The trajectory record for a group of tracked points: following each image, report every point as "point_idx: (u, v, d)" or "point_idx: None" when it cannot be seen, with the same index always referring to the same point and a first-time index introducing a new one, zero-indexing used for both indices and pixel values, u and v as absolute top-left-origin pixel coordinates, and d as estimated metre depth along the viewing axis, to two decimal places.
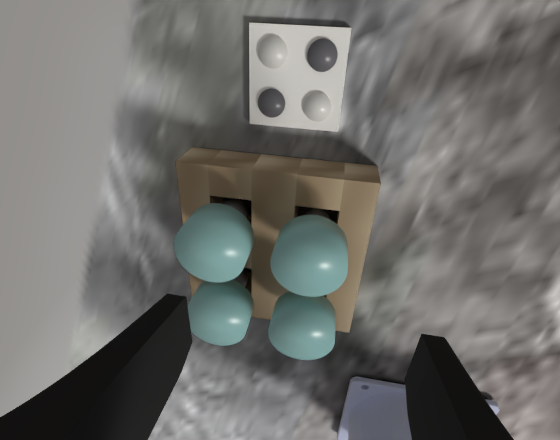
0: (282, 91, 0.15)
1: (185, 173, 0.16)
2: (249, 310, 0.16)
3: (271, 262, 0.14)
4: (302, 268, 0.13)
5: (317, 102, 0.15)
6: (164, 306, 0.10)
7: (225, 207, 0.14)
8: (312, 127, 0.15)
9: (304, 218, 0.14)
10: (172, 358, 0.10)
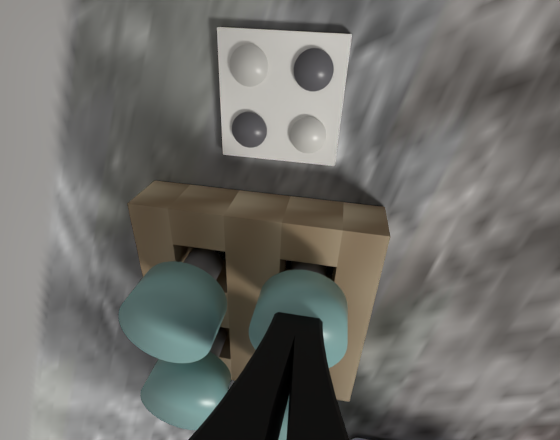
0: (262, 115, 0.11)
1: (141, 217, 0.12)
2: (224, 388, 0.13)
3: (250, 332, 0.11)
4: None
5: (308, 129, 0.11)
6: (283, 325, 0.09)
7: (187, 268, 0.11)
8: (302, 160, 0.12)
9: (292, 275, 0.11)
10: (289, 379, 0.09)
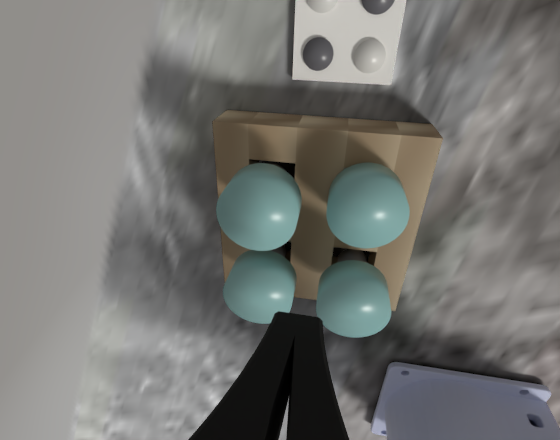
0: (330, 40, 0.13)
1: (223, 134, 0.14)
2: (293, 284, 0.15)
3: (327, 211, 0.13)
4: (360, 216, 0.13)
5: (370, 50, 0.13)
6: (283, 325, 0.09)
7: (272, 166, 0.13)
8: (362, 81, 0.14)
9: (360, 165, 0.13)
10: (289, 379, 0.09)
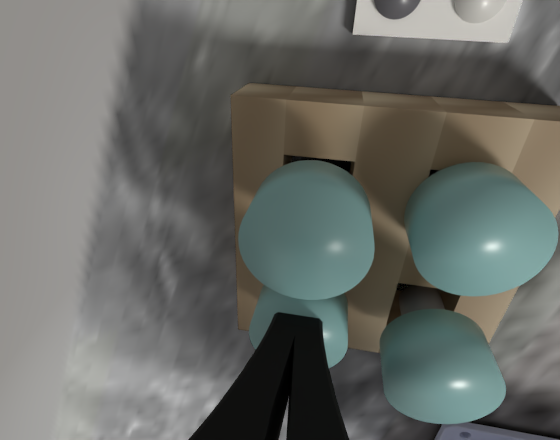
0: None
1: (246, 116, 0.09)
2: (347, 320, 0.11)
3: (415, 239, 0.08)
4: (470, 248, 0.08)
5: None
6: (283, 325, 0.09)
7: (329, 166, 0.08)
8: (463, 36, 0.09)
9: (467, 167, 0.08)
10: (289, 379, 0.09)
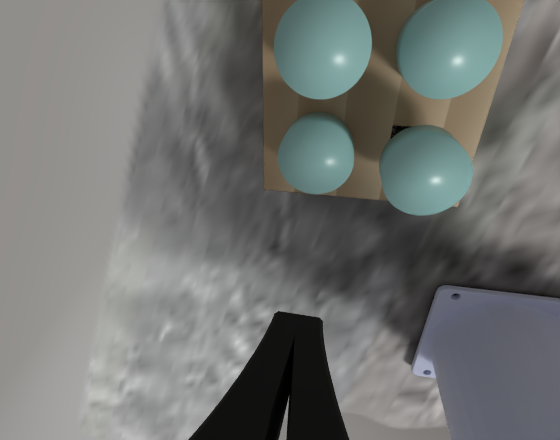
0: None
1: None
2: (353, 148, 0.14)
3: (402, 49, 0.11)
4: (441, 52, 0.11)
5: None
6: (283, 325, 0.09)
7: None
8: None
9: None
10: (289, 379, 0.09)
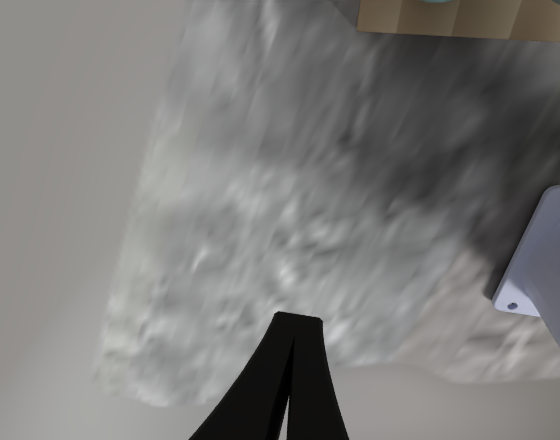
0: None
1: None
2: None
3: None
4: None
5: None
6: (283, 325, 0.09)
7: None
8: None
9: None
10: (289, 379, 0.09)
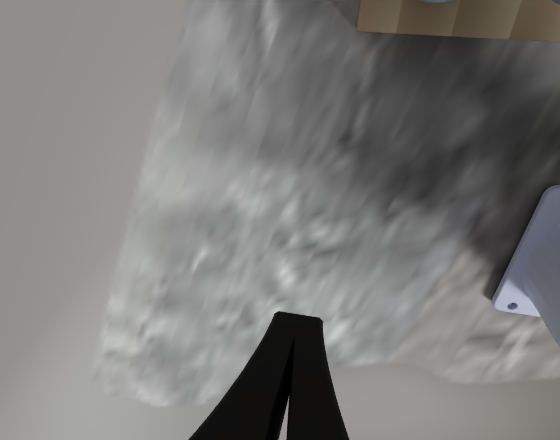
0: None
1: None
2: None
3: None
4: None
5: None
6: (283, 325, 0.09)
7: None
8: None
9: None
10: (289, 379, 0.09)
